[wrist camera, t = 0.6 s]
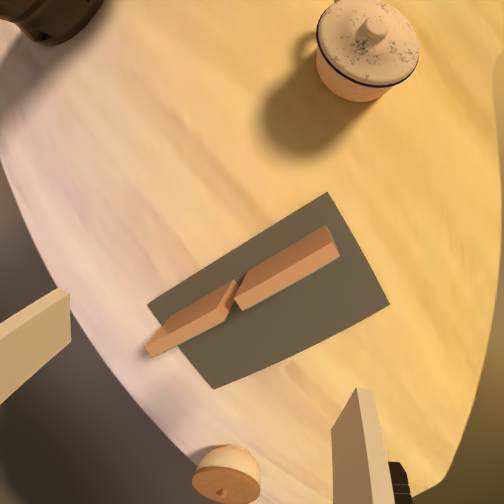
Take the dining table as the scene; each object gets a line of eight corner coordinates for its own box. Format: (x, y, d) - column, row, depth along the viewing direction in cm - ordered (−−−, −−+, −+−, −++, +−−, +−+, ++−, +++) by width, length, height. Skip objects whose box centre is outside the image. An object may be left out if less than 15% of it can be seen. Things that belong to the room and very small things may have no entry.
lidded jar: (196, 434, 46) (179, 475, 37) (261, 436, 44) (252, 482, 35) (211, 470, 49) (198, 508, 40) (269, 473, 47) (262, 514, 38)
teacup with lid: (404, 99, 29) (446, 74, 18) (326, 111, 31) (337, 85, 20) (371, 7, 27) (393, -44, 16) (296, 17, 29) (291, -37, 17)
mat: (149, 302, 40) (147, 304, 40) (327, 191, 33) (327, 192, 33) (215, 386, 43) (214, 389, 42) (388, 302, 36) (389, 304, 35)
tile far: (170, 315, 40) (144, 347, 32) (233, 278, 37) (216, 308, 29) (178, 325, 40) (153, 358, 32) (241, 290, 37) (226, 321, 30)
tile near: (248, 270, 37) (233, 298, 29) (325, 224, 34) (331, 242, 26) (256, 281, 37) (243, 312, 29) (332, 236, 34) (341, 257, 26)
